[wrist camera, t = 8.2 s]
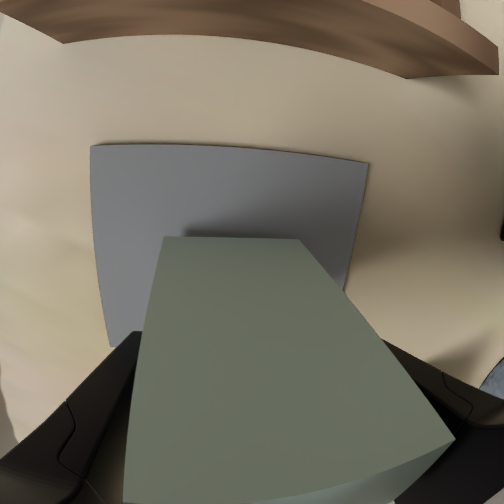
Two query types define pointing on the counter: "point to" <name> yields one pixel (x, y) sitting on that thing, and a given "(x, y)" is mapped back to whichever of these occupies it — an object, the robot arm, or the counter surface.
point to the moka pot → (495, 381)
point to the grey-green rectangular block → (267, 386)
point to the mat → (211, 211)
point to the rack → (287, 28)
